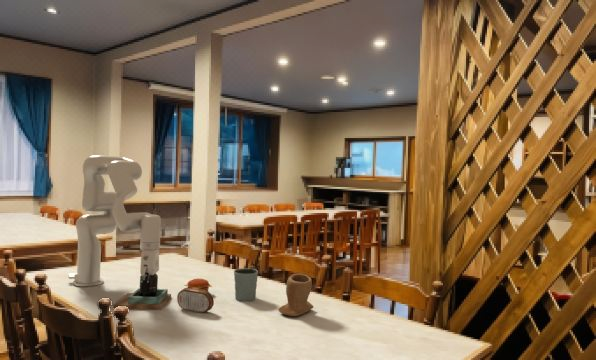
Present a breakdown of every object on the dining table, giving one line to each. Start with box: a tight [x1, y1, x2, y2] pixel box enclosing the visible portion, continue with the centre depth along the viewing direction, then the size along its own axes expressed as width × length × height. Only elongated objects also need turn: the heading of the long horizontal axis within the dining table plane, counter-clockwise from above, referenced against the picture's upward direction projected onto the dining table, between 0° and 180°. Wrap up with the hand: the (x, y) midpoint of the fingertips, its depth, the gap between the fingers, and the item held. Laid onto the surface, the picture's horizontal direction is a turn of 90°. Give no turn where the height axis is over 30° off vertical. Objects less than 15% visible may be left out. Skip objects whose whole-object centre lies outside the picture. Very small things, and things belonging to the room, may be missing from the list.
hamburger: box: [183, 278, 213, 292], centre depth 188 cm, size 9×10×7 cm
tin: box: [176, 287, 215, 314], centre depth 166 cm, size 15×3×8 cm, turn 71°
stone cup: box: [277, 273, 314, 317], centre depth 168 cm, size 15×12×15 cm
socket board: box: [112, 287, 172, 311], centre depth 173 cm, size 18×16×4 cm
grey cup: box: [233, 267, 259, 303], centre depth 183 cm, size 10×10×12 cm
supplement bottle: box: [139, 273, 159, 297], centre depth 173 cm, size 7×7×12 cm
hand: (148, 289), depth 173 cm, fingers closed on supplement bottle, 6 cm apart
